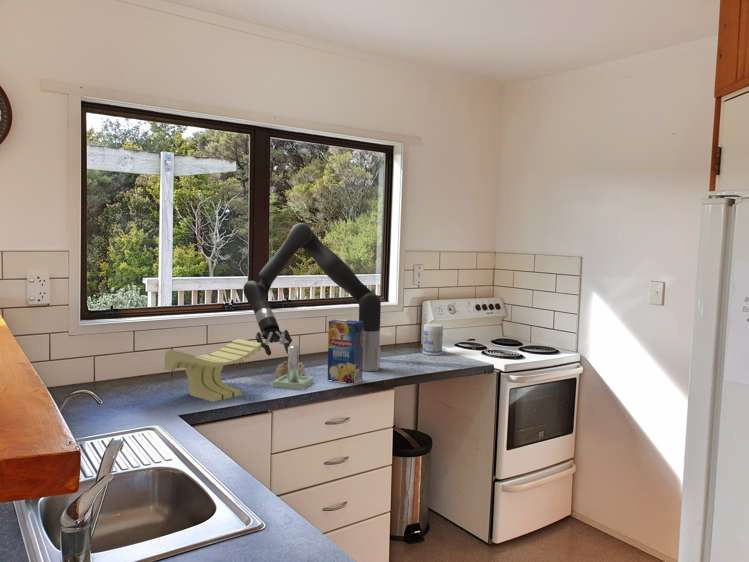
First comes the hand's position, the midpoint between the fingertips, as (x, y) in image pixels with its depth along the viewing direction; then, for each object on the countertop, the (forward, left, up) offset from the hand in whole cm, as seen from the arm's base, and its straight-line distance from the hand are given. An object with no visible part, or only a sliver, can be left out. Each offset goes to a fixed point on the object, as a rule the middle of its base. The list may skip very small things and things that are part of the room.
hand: (279, 353), depth 247 cm
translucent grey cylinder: (-9, +7, -9) cm, 15 cm away
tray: (-9, +7, -10) cm, 15 cm away
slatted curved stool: (+13, +29, -10) cm, 34 cm away
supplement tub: (-52, -72, -10) cm, 89 cm away
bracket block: (-3, -5, -10) cm, 12 cm away
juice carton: (-26, -6, -10) cm, 28 cm away
